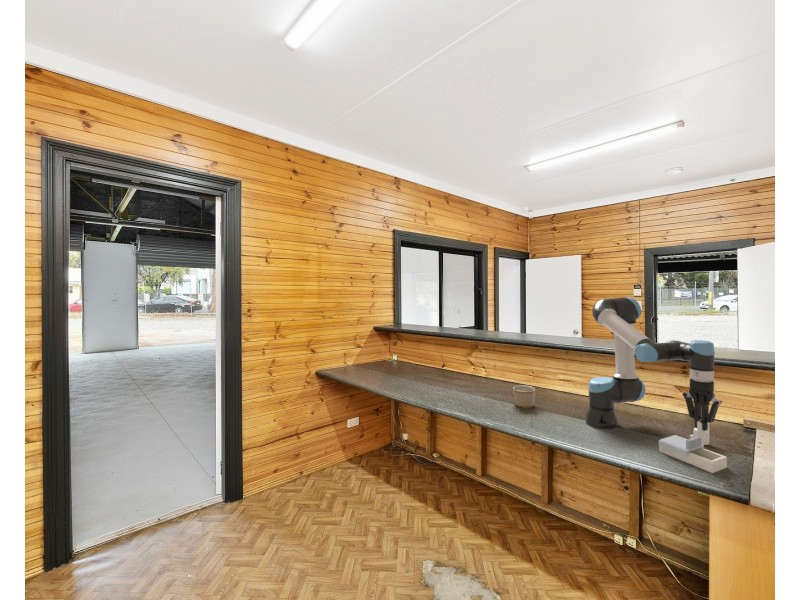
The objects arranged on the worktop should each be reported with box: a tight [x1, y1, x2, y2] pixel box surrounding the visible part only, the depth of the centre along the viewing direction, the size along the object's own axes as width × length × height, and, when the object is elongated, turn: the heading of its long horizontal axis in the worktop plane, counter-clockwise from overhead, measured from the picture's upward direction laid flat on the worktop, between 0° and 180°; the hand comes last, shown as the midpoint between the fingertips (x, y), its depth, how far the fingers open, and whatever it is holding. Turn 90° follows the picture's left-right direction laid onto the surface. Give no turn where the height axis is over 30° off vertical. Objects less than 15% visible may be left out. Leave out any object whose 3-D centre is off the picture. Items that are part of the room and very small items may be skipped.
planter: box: [512, 384, 536, 409], centre depth 222 cm, size 13×13×10 cm
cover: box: [658, 434, 705, 456], centre depth 155 cm, size 11×11×6 cm
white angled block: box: [689, 423, 710, 446], centre depth 165 cm, size 4×10×9 cm
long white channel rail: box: [658, 444, 728, 474], centre depth 152 cm, size 20×9×4 cm, turn 22°
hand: (701, 436), depth 148 cm, fingers closed
